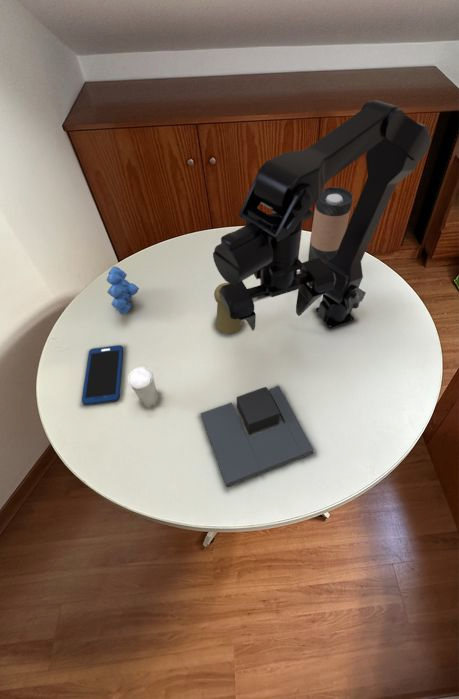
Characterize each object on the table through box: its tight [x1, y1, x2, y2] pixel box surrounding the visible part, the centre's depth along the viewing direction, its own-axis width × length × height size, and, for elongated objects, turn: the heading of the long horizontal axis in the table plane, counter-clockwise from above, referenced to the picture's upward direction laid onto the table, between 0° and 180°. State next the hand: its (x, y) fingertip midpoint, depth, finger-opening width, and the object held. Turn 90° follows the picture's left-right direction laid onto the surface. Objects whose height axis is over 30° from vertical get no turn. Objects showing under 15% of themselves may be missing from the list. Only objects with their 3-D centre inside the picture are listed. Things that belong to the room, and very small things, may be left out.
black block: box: [236, 386, 281, 435], centre depth 68 cm, size 6×6×4 cm
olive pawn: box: [213, 282, 243, 335], centre depth 79 cm, size 6×6×11 cm
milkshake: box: [127, 366, 160, 408], centre depth 68 cm, size 4×5×10 cm
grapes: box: [106, 266, 140, 316], centre depth 84 cm, size 12×7×12 cm, turn 8°
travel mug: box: [307, 186, 354, 262], centre depth 85 cm, size 8×8×20 cm
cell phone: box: [81, 344, 124, 405], centre depth 77 cm, size 7×14×1 cm, turn 7°
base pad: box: [200, 385, 314, 488], centre depth 66 cm, size 16×14×2 cm
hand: (275, 321), depth 67 cm, fingers open, 9 cm apart
